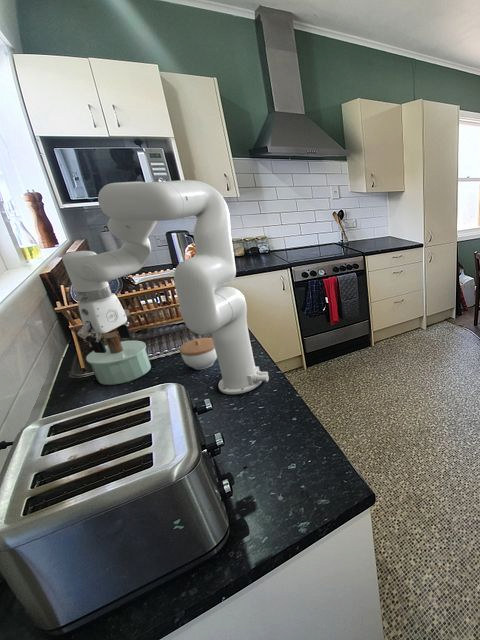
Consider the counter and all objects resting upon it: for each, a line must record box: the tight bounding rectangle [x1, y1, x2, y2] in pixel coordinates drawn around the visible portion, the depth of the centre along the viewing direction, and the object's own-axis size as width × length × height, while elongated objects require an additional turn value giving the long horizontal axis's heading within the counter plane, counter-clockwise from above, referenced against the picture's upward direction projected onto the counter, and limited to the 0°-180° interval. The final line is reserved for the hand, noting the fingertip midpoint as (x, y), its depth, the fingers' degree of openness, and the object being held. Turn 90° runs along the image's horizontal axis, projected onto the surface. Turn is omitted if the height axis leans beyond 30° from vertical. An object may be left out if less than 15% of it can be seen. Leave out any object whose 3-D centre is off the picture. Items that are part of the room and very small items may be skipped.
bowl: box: [89, 349, 152, 386], centre depth 112 cm, size 14×14×8 cm
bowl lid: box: [85, 333, 147, 365], centre depth 109 cm, size 15×15×7 cm
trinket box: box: [178, 337, 218, 371], centre depth 117 cm, size 11×11×9 cm
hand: (114, 344), depth 109 cm, fingers open, 9 cm apart
